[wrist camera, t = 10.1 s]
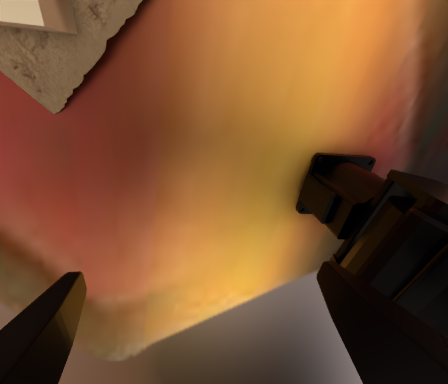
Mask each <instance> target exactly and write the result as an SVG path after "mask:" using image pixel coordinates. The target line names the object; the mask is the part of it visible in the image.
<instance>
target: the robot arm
mask: <svg viewBox="0 0 448 384" xmlns="http://www.w3.org/2000/svg"><path fill="white" fill-rule="evenodd" d="M320 157H321V158H320ZM319 158H320V160H318V159H319ZM369 161H370V162H369ZM375 161H376V160H375V158H373V157H371V156H358V155H343V154H328V153H317V154H316V155H315V156H314V157H313V160H312V163H311V166H310V169H309V172H308V174H307V176H306V179H305V182H304V185H303V188H302V191H301V194H300V197H299V201H298V204H297V206H296V210H297V212H298V213H300V214H314V216H315V217H316V218H317V219H318V220H319V221H320V222H321V223H322V224H325V225H326V226H327V227H328V228H329V230H330V231H331V232H332V233H333V234H334V235H335V236H336V237H337V238H338V239H344V242H343V243H342V244H341V246H340V247H339V249H338V250H337V252H336V253H335V254H333V255H332V257H331V258H330V260H331V261H324V262H323V263H322V265H321V267H320V269H319V271H318V273H317V281H318V284H319V286H320V289H321V292H322V294H323V297H324V300H325V302H326V305H327V308H328V310H329V313H330V315H331V318H332V320H333V322H334V324H335V326H336V328H337V330H338V333H339V335H340V337H341V339H342V341H343V343H344V345H345V347H346V349H347V351H348V353H349V355H350V357H351V359H352V362H353V364H354V366H355V368H356V370H357V372H358V374H359V376H360V378H361V380H362V382H363V384H448V185H446V184H443V183H441V182H438V181H436V180H432V179H428V178H424V177H420V176H416V175H412V174H408V173H404V172H400V171H396V170H392V169H391V170H390V172H389V173H388V175H387V179H386V180H385V179H383V178H381V177H379V176H378V175H376V174H374V173H372V172H371V170H372V168H373V166H374V164H375ZM301 208H302V209H301ZM86 292H87V288H86V283H85V279H84V275H83V273H82V272H80V271H79V272H68V273H66V274H65V275H63V276H62V277H61V278H60V279H59V280H58V281H56V282H55V283H54V284H53V285H52V286H51V287H49V288H48V289H47V290H46V291H45V292H44V293H43V294H41V295H40V296H39V297H38V298H37V299H36V300H35V301H33V302H32V303H31V304H30V305H29V306H28V307H26V308H25V309H24V310H23V311H22V312H21V313H20V314H18V315H17V316H16V317H15V318H14V319H13V320H11V321H10V322H9V323H8V324H7V325H6V326H5V327H3V328H2V329H1V330H0V384H58V383H59V380H60V378H61V375H62V372H63V369H64V367H65V364H66V361H67V359H68V356H69V353H70V351H71V348H72V345H73V342H74V338H75V335H76V331H77V327H78V323H79V320H80V316H81V312H82V308H83V305H84V301H85V297H86Z"/></svg>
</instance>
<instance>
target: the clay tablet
mask: <svg viewBox="0 0 448 384" xmlns="http://www.w3.org/2000/svg"><path fill="white" fill-rule="evenodd" d="M141 1H143V0H71V3H72V8H73V14H74V18H75V23H76V28H77V33H78V35H75V34H66V33H57V32H48V31H39V30H30V29H21V28H12V27H3V26H0V71H1V72H2V73H4V74H5V75H6V76H8V77H9V78H10V79H12V80H13V81H14V82H15V83H16V84H17V85H18V86H20V87H21V88H22V89H23V90H25V91H26V92H27V93H28V94H29V95H30V96H32V97H33V98H34V99H36V100H37V101H38V102H39V103H40V104H42V105H43V106H44V107H45V108H47V109H48V110H49V111H50V112H52V113H53V114H55V113H56V112H59V111H60V110H61V109H62V108H64V107H65V104H64V103H66V102H67V98H68V97H70V96H71V94H72V93H73V89H74V88H76V87H78V86H79V85H80V84H81V83H82V81H83V80H84V79H83V75H84V74H87V72H88V71H89V70H90V69H91V68H92V67H93V66H94V65H95V64H96V62H97V61H98V60H99V59H100V57H101V56H102V54H103V53H104V51H105V49H106V41H107V39H109V38H111V37H113V36H114V35H115V34H116V33H117V32H118V31H119V29H120V27H121V26H122V25H124V23H125V20H126V19H127V18H130V17H131V16H133V15H134V14H135V11H136V10H137V7H138V5H139V3H140V2H141Z"/></svg>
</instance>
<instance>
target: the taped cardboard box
mask: <svg viewBox="0 0 448 384" xmlns="http://www.w3.org/2000/svg"><path fill="white" fill-rule="evenodd" d="M0 26H3V27H12V28H21V29H30V30H39V31H48V32H57V33H66V34H75V35H78V33H77V28H76V23H75V18H74V14H73V8H72V3H71V0H0Z"/></svg>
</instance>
